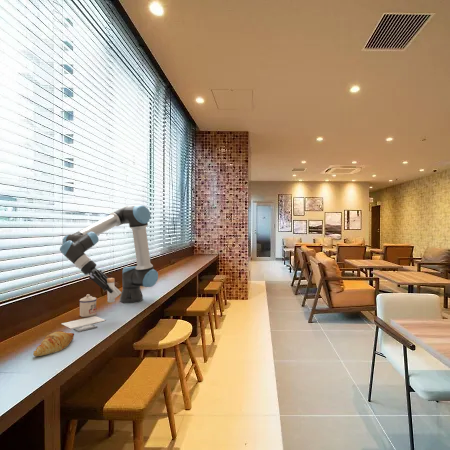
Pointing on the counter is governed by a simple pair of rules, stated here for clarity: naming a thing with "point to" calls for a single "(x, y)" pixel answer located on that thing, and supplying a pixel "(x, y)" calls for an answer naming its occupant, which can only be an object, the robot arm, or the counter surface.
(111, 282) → the white bottle
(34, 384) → the counter surface
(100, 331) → the counter surface
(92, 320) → the paper
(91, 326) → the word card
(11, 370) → the counter surface
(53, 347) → the croissant
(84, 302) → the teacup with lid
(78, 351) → the counter surface
